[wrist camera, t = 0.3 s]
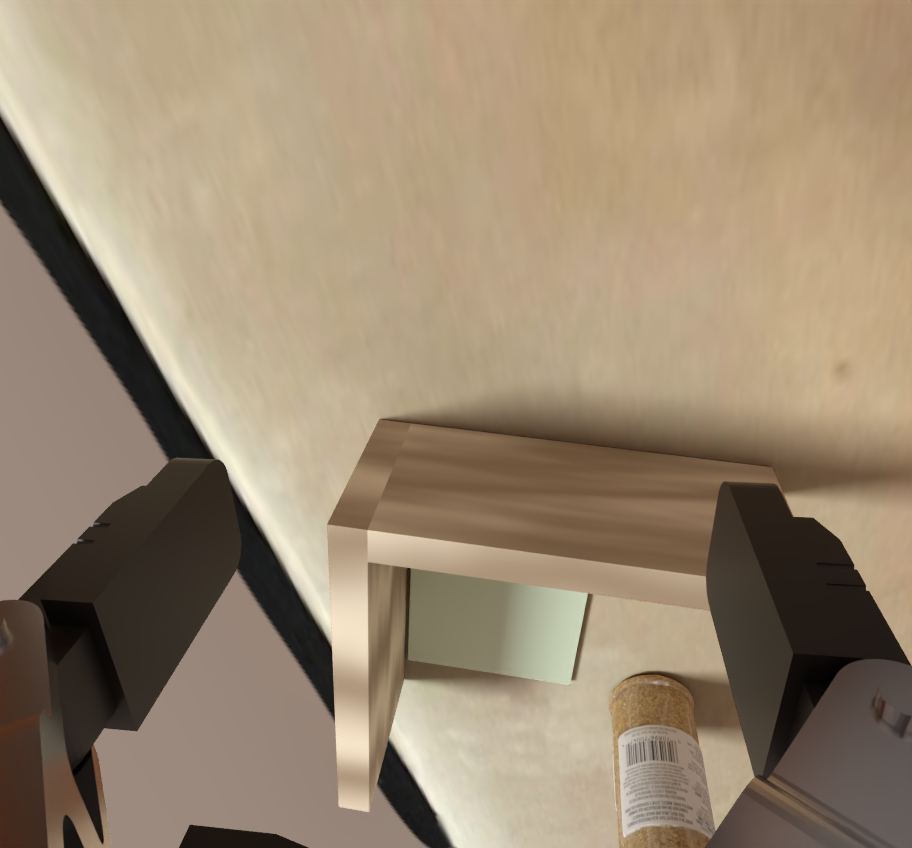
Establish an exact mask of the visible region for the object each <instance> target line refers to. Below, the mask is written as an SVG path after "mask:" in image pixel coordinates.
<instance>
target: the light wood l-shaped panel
mask: <svg viewBox="0 0 912 848" xmlns="http://www.w3.org/2000/svg"><path fill="white" fill-rule="evenodd" d="M724 481H729V482H754V483H774V484H776V485H777V486H778V487H779V489H780V491H781V493H782V495H783V497H784V499H785V501H786V498H785V496H784V494H783V492H782V489H781V487H780V485H779V482H778V480H777V478H776V476H775V473H774V471H773V469H772V467H766V466H758V465H750V464H741V463H733V462H725V461H717V460H709V459H700V458H692V457H684V456H676V455H668V454H659V453H651V452H643V451H635V450H627V449H618V448H610V447H602V446H594V445H586V444H577V443H569V442H561V441H553V440H545V439H536V438H528V437H520V436H512V435H504V434H495V433H487V432H479V431H471V430H462V429H454V428H446V427H438V426H430V425H421V424H413V423H405V422H397V421H389V420H380V419H379V421H378V423H377V425H376V427H375V429H374V431H373V433H372V435H371V437H370V439H369V441H368V443H367V445H366V447H365V449H364V451H363V453H362V455H361V457H360V459H359V461H358V463H357V465H356V467H355V469H354V471H353V473H352V475H351V477H350V479H349V481H348V484H347V486H346V488H345V490H344V492H343V494H342V496H341V498H340V500H339V502H338V504H337V506H336V508H335V510H334V512H333V514H332V516H331V518H330V520H329V522H328V524H327V532H328V556H329V581H330V605H331V629H332V653H333V678H334V702H335V726H336V751H337V775H338V798H339V807H344V808H349V809H355V810H360V811H366V812H369V811H370V807H371V804H372V800H373V796H374V792H375V788H376V784H377V781H378V777H379V773H380V769H381V765H382V762H383V758H384V754H385V750H386V746H387V742H388V739H389V735H390V731H391V727H392V723H393V720H394V716H395V712H396V708H397V704H398V700H399V697H400V693H401V689H402V685H403V681H404V659H405V624H406V590H407V568H413V569H420V570H427V571H434V572H441V573H448V574H455V575H462V576H469V577H476V578H483V579H490V580H497V581H504V582H511V583H518V584H526V585H533V586H540V587H547V588H554V589H561V590H568V591H575V592H582V593H589V594H596V595H603V596H610V597H617V598H624V599H631V600H638V601H645V602H652V603H659V604H666V605H673V606H680V607H687V608H694V609H701V610H708V611H710V607H709V603H708V598H707V589H706V568H707V559H708V553H709V547H710V541H711V535H712V529H713V523H714V517H715V511H716V505H717V499H718V493H719V489H720V486H721V484H722V483H723V482H724ZM786 503H787V501H786ZM787 505H788V503H787ZM788 507H789V505H788ZM789 509H790V507H789ZM790 511H791V510H790ZM791 513H792V512H791ZM792 515H793V514H792Z"/></svg>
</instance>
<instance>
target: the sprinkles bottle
mask: <svg viewBox="0 0 912 848" xmlns="http://www.w3.org/2000/svg"><path fill="white" fill-rule="evenodd" d="M694 708H695V707H694V700H693V697H692V695H691V694H690V692H689V690H688V689H687V688H686V687H684V686H683V685H682V684H680V683H678V682H677V681H675V680H673V679H670V678H668V677H665V676H661V675H641V676H636V677H633V678H629V679H627V680H625V681H623V682H621V683H620V684H619V685H618V686H617V687H616V688H615V689H614V690H613V692H612V693H611V695H610V699H609V710H610V712H611V715H612V726H613V746H614V752H613V772H614V790H615V807H616V812H617V815H618V836H619V846H620V848H705V846H706V845H707V843H708V842H709V840H710V839H711V838H712V836H713V835H714V833H715V826H714V821H713V815H712V810H711V804H710V798H709V792H708V786H707V781H706V775H705V769H704V763H703V757H702V752H701V749H700V747H699V742H698V736H697V731H696V725H695V719H694Z"/></svg>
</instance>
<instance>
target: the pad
mask: <svg viewBox="0 0 912 848" xmlns="http://www.w3.org/2000/svg"><path fill="white" fill-rule="evenodd" d="M587 596H588V593H582V592H575V591H568V590H561V589H554V588H547V587H540V586H533V585H526V584H518V583H511V582H504V581H497V580H490V579H483V578H476V577H469V576H462V575H455V574H448V573H441V572H434V571H427V570H420V569H413V568H411V579H410V610H409V641H408V660H411V661H417V662H424V663H430V664H437V665H443V666H450V667H456V668H463V669H469V670H475V671H482V672H488V673H495V674H501V675H508V676H514V677H521V678H527V679H534V680H540V681H546V682H553V683H559V684H566V685H570V683H571V678H572V672H573V667H574V662H575V657H576V652H577V647H578V642H579V637H580V632H581V626H582V621H583V616H584V611H585V606H586V601H587Z"/></svg>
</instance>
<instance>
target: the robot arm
mask: <svg viewBox="0 0 912 848" xmlns="http://www.w3.org/2000/svg"><path fill="white" fill-rule="evenodd" d="M77 540H78V541H77V544H72V545H71V546H70V547H69V548H68V549H67V550H66V551H65V552H64V553H63V554H62V555H61V557H60V558H59V559H58V560H57V561H56V562H55V563H54V564H53V565H52V566H51V567H50V568H49V569H48V570H47V571H46V572H45V573H44V574H43V575H42V576H41V577H40V578H39V579H38V580H37V581H36V582H35V583H34V584H33V585H32V586H31V587H30V588H29V589H28V590H27V591H26V592H25V593H24V594H23V595H22V597H20V598H19V599H18V600H3V601H0V848H112V844H111V837H110V831H109V824H108V817H107V811H106V804H105V798H104V791H103V784H102V778H101V772H100V764H99V758H98V755H97V752H96V749H95V746H94V742H95V741H96V739H97V738H98V736H99V735H100V733H101V732H102V730H103V729H104V728H108V729H119V730H130V731H138V729H139V727H140V726H141V724H142V722H143V721H144V719H145V718H146V716H147V714H148V713H149V711H150V709H151V708H152V706H153V705H154V703H155V701H156V699H157V698H158V696H159V695H160V693H161V692H162V690H163V688H164V686H165V685H166V684H167V682H168V680H169V679H170V677H171V675H172V674H173V672H174V671H175V669H176V667H177V665H178V664H179V662H180V661H181V659H182V658H183V656H184V654H185V653H186V651H187V649H188V648H189V646H190V644H191V643H192V641H193V640H194V638H195V636H196V635H197V633H198V632H199V630H200V628H201V626H202V625H203V623H204V622H205V620H206V619H207V617H208V615H209V614H210V612H211V610H212V609H213V607H214V606H215V604H216V602H217V601H218V599H219V597H220V596H221V594H222V593H223V591H224V589H225V588H226V586H227V585H228V583H229V581H230V580H231V578H232V576H233V575H234V573H235V571H236V569H237V566H238V563H239V559H240V553H241V536H240V530H239V525H238V521H237V516H236V511H235V506H234V501H233V497H232V492H231V487H230V482H229V477H228V473H227V470H226V467H225V465H224V464H223V463H222V461H220V460H214V459H189V458H174V459H172V460H171V461H169V462H168V463H167V465H166V466H165V467H164V468H163V469H162V470H161V471H160V472H159V473H158V474H157V475H156V476H155V477H154V478H153V479H152V481H151V482H150V483H149V484H148V485H147V486H141V487H139V488H137V489H136V490H134V491H132V492H130V493H129V494H127V495H125V496H123V497H122V498H120V499H118V500H117V501H115V502H114V503H112V504H111V506H109V507H108V508H107V509H106V510H105V511H104V513H102V514H101V516H99V518H98V519H97V520H96V521H95V522H94V525H93V527H89V528H88V529H87V530H86V531H85V532H84V533H83V534H82V535H81V536H80V537H79V538H78V539H77ZM706 589H707V598H708V603H709V607H710V611H711V615H712V618H713V622H714V626H715V630H716V633H717V637H718V641H719V645H720V648H721V652H722V656H723V660H724V664H725V667H726V671H727V675H728V679H729V682H730V686H731V690H732V694H733V697H734V701H735V705H736V709H737V712H738V716H739V720H740V724H741V727H742V731H743V735H744V739H745V742H746V746H747V750H748V754H749V757H750V761H751V765H752V769H753V773H754V776H755V777H754V778H753V779H752V780H751V781H750V783H749V784H748V785H747V786H746V788H745V789H744V790H743V792H742V793H741V795H740V796H739V798H738V799H737V801H736V802H735V804H734V805H733V807H732V808H731V810H730V811H729V812H728V814H727V815H726V817H725V818H724V820H723V821H722V823H721V824H720V826H719V827H718V829H717V830H716V832H715V833H714V835H713V836H712V838H711V839H710V840H709V842H708V843H707V845H706V846H705V848H912V666H911V664H910V662H909V661H908V659H907V657H906V655H905V654H904V652H903V650H902V648H901V647H900V645H899V643H898V641H897V640H896V638H895V636H894V634H893V632H892V631H891V629H890V627H889V625H888V624H887V622H886V620H885V618H884V617H883V615H882V613H881V611H880V609H879V608H878V606H877V604H876V602H875V601H874V599H873V597H872V595H871V594H870V592H869V591H866V585H865V583H864V581H863V579H862V578H861V576H860V574H859V572H858V571H857V570H854V564H853V562H852V560H851V558H850V556H849V555H848V553H847V551H846V549H845V548H844V546H843V544H842V542H841V541H840V539H838V538H837V537H836V536H835V535H834V534H832V533H831V532H830V531H829V530H827V529H826V528H825V527H824V526H822V525H821V524H820V523H819V522H818V521H816V520H815V519H814V518H805V517H793V515H792V513H791V511H790V509H789V507H788V505H787V503H786V501H785V499H784V497H783V495H782V493H781V491H780V489H779V487H778V486H777V485H776V484H774V483H754V482H729V481H724V482H723V483H722V484H721V486H720V489H719V493H718V499H717V505H716V511H715V517H714V523H713V529H712V535H711V541H710V547H709V553H708V559H707V568H706ZM179 848H308V847H306V846H303V845H301V844H298V843H296V842H294V841H291V840H289V839H286V838H284V837H282V836H279V835H277V834H270V833H261V832H252V831H251V832H250V831H242V830H233V829H224V828H215V827H205V826H196V825H190V826H189V828H188V830H187V832H186V834H185V836H184V838H183V840H182V843H181V845H180V847H179Z"/></svg>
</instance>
